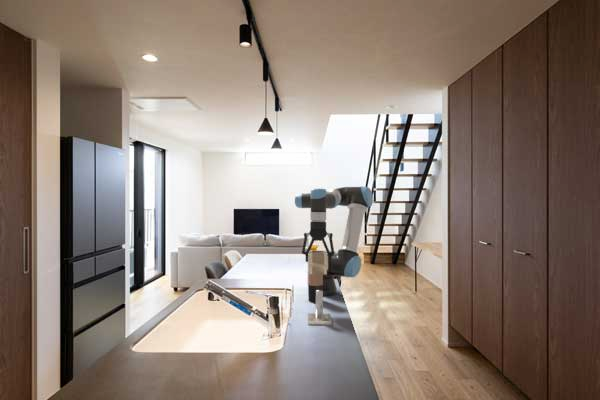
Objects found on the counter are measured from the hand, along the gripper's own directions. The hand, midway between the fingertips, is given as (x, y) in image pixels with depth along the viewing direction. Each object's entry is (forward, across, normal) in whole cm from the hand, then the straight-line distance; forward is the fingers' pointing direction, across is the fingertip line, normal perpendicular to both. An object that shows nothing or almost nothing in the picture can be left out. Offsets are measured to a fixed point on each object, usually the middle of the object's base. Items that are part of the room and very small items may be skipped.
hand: (317, 268), depth 174 cm
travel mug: (+20, -1, +16) cm, 25 cm away
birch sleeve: (+2, 0, 0) cm, 2 cm away
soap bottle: (+19, 0, +51) cm, 55 cm away
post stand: (+20, 0, -16) cm, 25 cm away
